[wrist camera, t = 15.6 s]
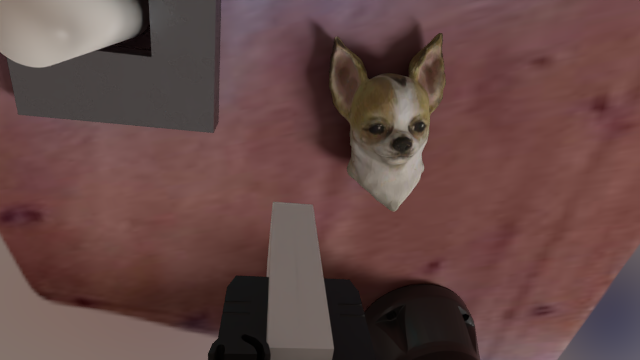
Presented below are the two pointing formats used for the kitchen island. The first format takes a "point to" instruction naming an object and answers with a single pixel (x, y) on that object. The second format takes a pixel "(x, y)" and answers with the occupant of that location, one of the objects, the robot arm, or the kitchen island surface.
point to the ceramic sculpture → (387, 118)
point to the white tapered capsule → (66, 28)
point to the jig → (136, 75)
